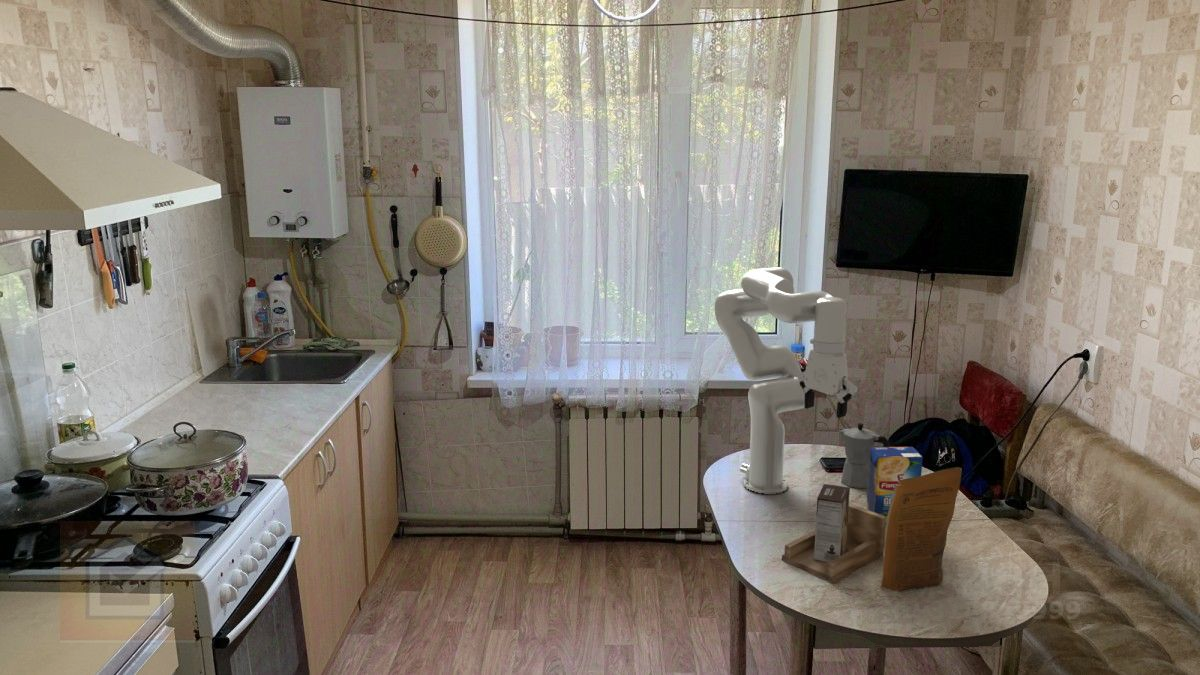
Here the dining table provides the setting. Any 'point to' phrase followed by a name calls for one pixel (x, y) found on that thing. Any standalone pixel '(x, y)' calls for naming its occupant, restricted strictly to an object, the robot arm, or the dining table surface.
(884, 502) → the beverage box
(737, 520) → the dining table surface
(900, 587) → the pancake mix bag
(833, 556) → the coffee box
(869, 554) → the wooden tray
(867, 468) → the coffeepot
